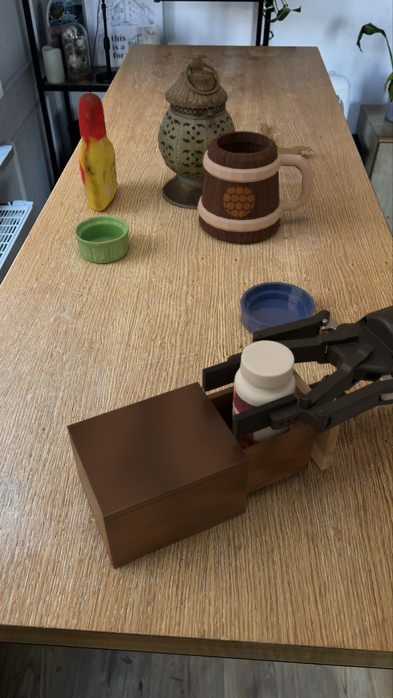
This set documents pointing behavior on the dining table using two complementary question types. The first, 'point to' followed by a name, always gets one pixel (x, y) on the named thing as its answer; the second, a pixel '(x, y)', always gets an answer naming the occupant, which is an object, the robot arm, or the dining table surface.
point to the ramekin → (102, 238)
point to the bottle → (96, 154)
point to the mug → (247, 187)
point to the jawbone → (292, 150)
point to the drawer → (282, 442)
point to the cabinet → (159, 471)
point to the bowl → (274, 305)
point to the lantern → (191, 130)
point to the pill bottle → (262, 383)
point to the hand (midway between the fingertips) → (219, 403)
